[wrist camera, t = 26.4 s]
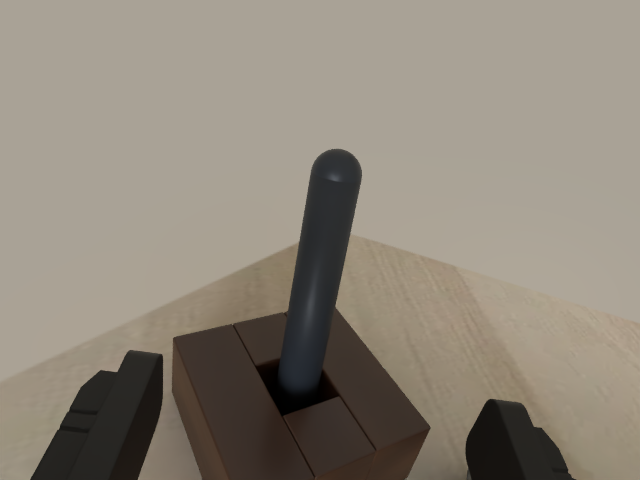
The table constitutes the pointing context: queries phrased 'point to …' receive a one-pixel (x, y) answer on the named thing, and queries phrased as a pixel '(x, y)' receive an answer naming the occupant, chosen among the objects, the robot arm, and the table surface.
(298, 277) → the dark grey peg
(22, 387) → the table surface
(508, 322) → the table surface
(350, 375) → the pen stand
